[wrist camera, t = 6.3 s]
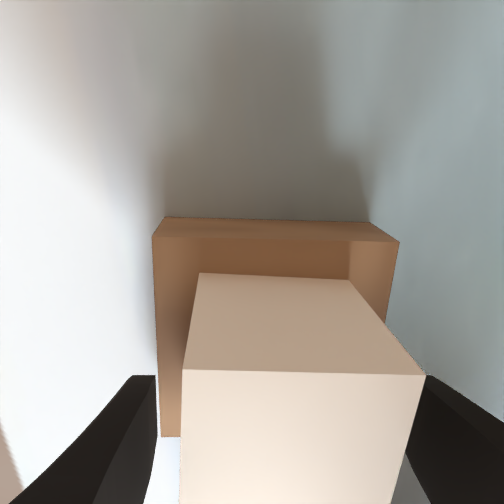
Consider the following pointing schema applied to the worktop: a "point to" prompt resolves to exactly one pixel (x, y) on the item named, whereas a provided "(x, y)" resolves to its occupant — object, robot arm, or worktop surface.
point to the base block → (253, 263)
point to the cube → (292, 394)
